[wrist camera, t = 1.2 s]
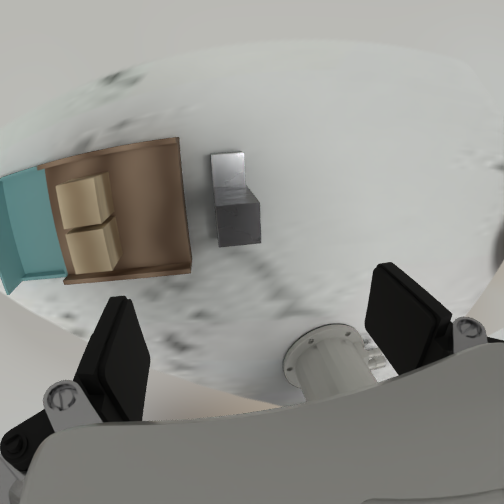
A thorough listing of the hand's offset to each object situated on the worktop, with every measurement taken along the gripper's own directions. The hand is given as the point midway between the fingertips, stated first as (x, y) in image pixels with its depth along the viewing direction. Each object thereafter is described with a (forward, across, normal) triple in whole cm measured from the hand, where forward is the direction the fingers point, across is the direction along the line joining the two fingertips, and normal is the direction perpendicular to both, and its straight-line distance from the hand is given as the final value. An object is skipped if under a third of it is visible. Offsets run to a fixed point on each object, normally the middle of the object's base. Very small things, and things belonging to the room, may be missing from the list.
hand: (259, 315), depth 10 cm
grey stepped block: (+21, 0, 0) cm, 21 cm away
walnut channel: (+21, +11, 0) cm, 23 cm away
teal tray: (+21, +23, 0) cm, 31 cm away
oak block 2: (+19, +13, +2) cm, 23 cm away
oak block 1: (+19, +13, -2) cm, 23 cm away
